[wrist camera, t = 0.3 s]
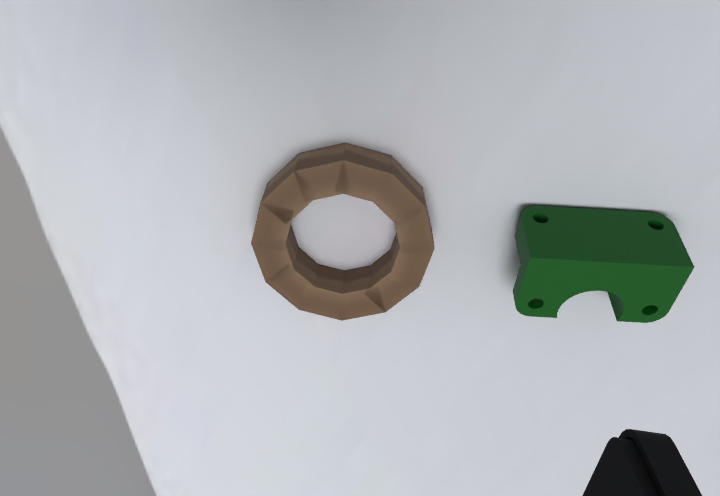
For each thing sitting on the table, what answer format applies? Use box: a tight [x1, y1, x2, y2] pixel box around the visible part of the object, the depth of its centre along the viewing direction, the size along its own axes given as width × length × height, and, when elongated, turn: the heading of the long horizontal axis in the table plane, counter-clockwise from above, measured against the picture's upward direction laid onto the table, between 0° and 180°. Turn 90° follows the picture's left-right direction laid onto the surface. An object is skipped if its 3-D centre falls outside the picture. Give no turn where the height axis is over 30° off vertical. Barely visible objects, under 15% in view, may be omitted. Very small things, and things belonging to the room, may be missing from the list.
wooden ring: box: [251, 143, 434, 320], centre depth 45 cm, size 12×12×3 cm
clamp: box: [513, 206, 694, 323], centre depth 45 cm, size 11×6×8 cm, turn 81°
